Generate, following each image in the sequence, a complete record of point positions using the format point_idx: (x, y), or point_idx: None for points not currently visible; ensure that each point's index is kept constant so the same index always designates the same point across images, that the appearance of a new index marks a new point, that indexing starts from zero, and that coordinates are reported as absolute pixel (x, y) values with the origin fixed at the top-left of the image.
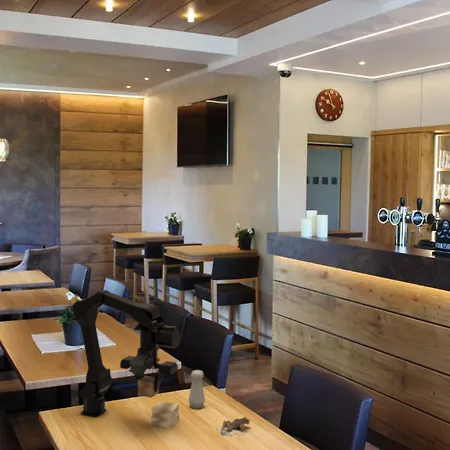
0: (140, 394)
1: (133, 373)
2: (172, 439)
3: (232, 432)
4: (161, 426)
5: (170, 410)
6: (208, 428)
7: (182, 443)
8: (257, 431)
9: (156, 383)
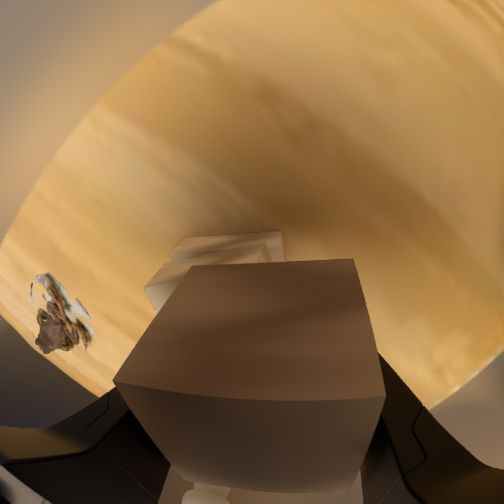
0: (320, 266)
1: (500, 477)
2: (113, 155)
3: (48, 298)
4: (223, 235)
5: (158, 291)
6: (95, 298)
7: (73, 152)
8: (33, 323)
9: (115, 395)
